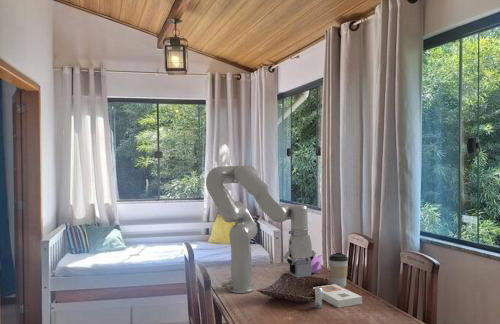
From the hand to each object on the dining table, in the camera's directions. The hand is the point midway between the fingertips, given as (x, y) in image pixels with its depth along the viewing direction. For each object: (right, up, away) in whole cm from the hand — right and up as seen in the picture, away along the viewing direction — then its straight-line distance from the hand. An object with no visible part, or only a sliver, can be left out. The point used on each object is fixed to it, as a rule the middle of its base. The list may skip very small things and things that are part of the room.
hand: (300, 271), depth 197 cm
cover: (0, -1, 0) cm, 1 cm away
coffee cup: (+21, -11, +17) cm, 29 cm away
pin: (+6, -11, -14) cm, 19 cm away
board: (+16, -11, -4) cm, 19 cm away
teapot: (+10, -11, +39) cm, 41 cm away
